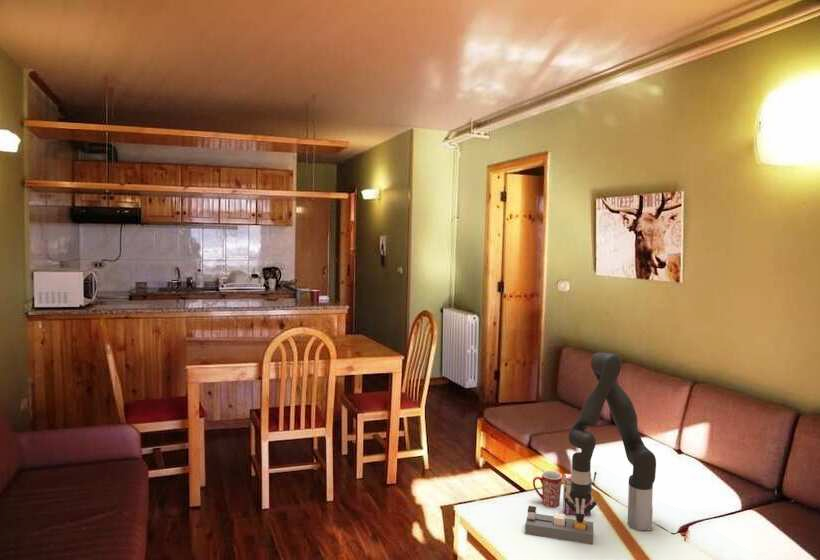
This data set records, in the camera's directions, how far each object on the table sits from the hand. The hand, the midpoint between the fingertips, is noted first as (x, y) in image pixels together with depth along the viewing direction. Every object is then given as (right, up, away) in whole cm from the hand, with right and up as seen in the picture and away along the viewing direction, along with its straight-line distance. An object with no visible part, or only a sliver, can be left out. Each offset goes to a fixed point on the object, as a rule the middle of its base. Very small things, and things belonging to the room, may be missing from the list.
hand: (579, 521), depth 229 cm
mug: (-6, -4, +28) cm, 29 cm away
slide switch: (-18, -3, +6) cm, 19 cm away
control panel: (-7, -6, +3) cm, 10 cm away
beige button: (-7, -2, +3) cm, 8 cm away
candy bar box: (+4, -4, +19) cm, 20 cm away
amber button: (0, -3, 0) cm, 3 cm away
